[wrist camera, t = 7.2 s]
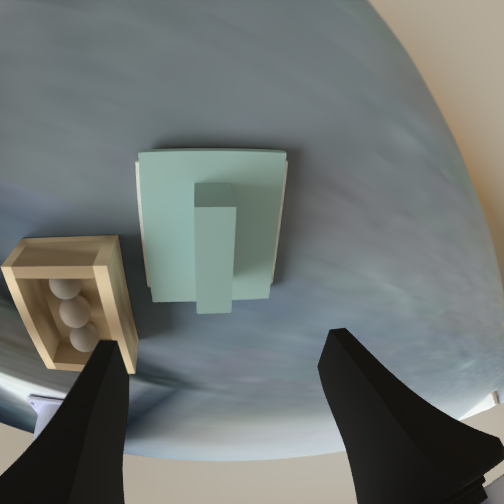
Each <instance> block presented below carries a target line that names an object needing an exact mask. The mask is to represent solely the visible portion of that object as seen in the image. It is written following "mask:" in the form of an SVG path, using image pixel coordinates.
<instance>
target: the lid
mask: <svg viewBox="0 0 504 504" xmlns="http://www.w3.org/2000/svg"><path fill="white" fill-rule="evenodd" d="M286 154H287V153H286V152H285V151H284V150H268V149H239V148H175V149H146V150H140V151H139V152H138V158H139V178H140V193H141V206H142V218H143V229H144V239H145V248H146V256H147V265H148V272H149V280H150V287H151V294H152V300H153V302H188V301H196V302H197V314H209V313H231V307H232V300H244V299H265V298H269V292H270V284H271V277H272V269H273V261H274V254H275V246H276V238H277V230H278V222H279V214H280V206H281V198H282V189H283V181H284V172H285V163H286Z"/></svg>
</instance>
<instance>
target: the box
mask: <svg viewBox="0 0 504 504" xmlns="http://www.w3.org/2000/svg"><path fill="white" fill-rule="evenodd" d="M1 269H2V271H3V274H4V277H5V279H6V282H7V285H8V287H9V290H10V292H11V295H12V297H13V299H14V302H15V304H16V306H17V309H18V311H19V313H20V315H21V318H22V320H23V322H24V324H25V326H26V328H27V330H28V332H29V334H30V336H31V338H32V340H33V342H34V344H35V346H36V348H37V350H38V352H39V354H40V356H41V357H42V359H43V361H44V363H45V365H46V366H47V368H48V369H59V370H70V371H82V370H83V368H84V366H85V364H86V363H87V361H88V359H89V357H90V356H91V354H92V352H93V350H94V348H95V347H96V345H97V343H98V342H99V341H100V340H117V341H118V345H119V348H120V351H121V354H122V357H123V360H124V363H125V366H126V369H127V372H128V374H135V370H136V361H137V352H138V343H139V339H138V335H137V330H136V326H135V322H134V317H133V313H132V308H131V303H130V298H129V294H128V288H127V283H126V278H125V272H124V267H123V261H122V255H121V248H120V242H119V235H100V236H73V237H48V238H26V239H21V241H20V242H19V243H18V244H17V246H16V247H15V248H14V250H13V251H12V252H11V254H10V255H9V256H8V258H7V259H6V260H5V262H4V263H3V264H2V266H1Z"/></svg>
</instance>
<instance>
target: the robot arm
mask: <svg viewBox="0 0 504 504" xmlns="http://www.w3.org/2000/svg"><path fill="white" fill-rule="evenodd" d="M318 371H319V375H320V379H321V383H322V387H323V391H324V393H325V396H326V398H327V401H328V404H329V406H330V409H331V411H332V414H333V416H334V419H335V421H336V424H337V426H338V429H339V431H340V434H341V436H342V439H343V442H344V445H345V448H346V451H347V455H348V459H349V463H350V467H351V472H352V476H353V481H354V486H355V491H356V497H357V503H358V504H504V474H503V475H502V476H500V477H499V478H497V479H496V480H494V481H493V482H492V483H490V484H489V485H487V486H486V487H484V488H483V486H482V484H483V483H484V482H485V481H486V480H485V478H484V476H483V475H484V474H485V473H487V472H488V471H490V470H491V469H492V468H494V467H495V466H496V465H498V464H499V463H500V462H502V461H503V460H504V446H503V444H502V443H501V441H500V439H499V438H498V437H495V436H493V435H489V434H487V433H484V432H482V431H479V430H477V429H474V428H472V427H470V426H468V425H466V424H464V423H462V422H460V421H458V420H456V419H454V418H452V417H450V416H449V415H447V414H445V413H444V412H442V411H440V410H439V409H437V408H436V407H434V406H433V405H431V404H430V403H428V402H427V401H425V400H424V399H423V398H421V397H420V396H418V395H417V394H416V393H414V392H413V391H412V390H411V389H409V388H408V387H407V386H406V385H405V384H403V383H402V382H401V381H400V380H399V379H398V378H396V377H395V376H394V375H393V374H392V373H391V372H390V371H389V370H388V369H387V368H385V367H384V366H383V365H382V364H381V363H380V362H379V361H378V360H377V359H376V358H375V357H374V356H373V355H372V354H371V353H370V352H369V351H368V350H367V349H366V348H365V347H364V346H363V345H362V344H361V343H360V342H359V341H358V340H357V339H356V338H355V337H354V336H353V335H352V334H351V333H350V332H349V331H348V330H347V329H346V328H340V329H331V330H329V333H328V337H327V340H326V343H325V345H324V348H323V351H322V354H321V357H320V360H319V363H318ZM27 401H28V402H29V403H30V405H31V406H32V407H33V408H34V410H35V411H36V412H37V413H38V419H37V423H36V428H35V432H34V437H33V442H32V444H31V445H30V446H29V447H28V448H27V450H26V451H25V452H24V453H23V454H22V455H21V456H20V457H19V458H18V459H17V460H16V461H15V462H14V463H13V464H12V465H11V466H10V467H9V468H8V469H7V470H6V471H5V472H4V473H3V474H2V475H1V476H0V504H125V503H124V491H123V472H122V467H123V450H124V441H125V431H126V423H127V414H128V406H129V375H128V372H127V369H126V366H125V363H124V360H123V357H122V354H121V351H120V348H119V345H118V341H117V340H100V341H99V342H98V343H97V345H96V347H95V348H94V350H93V352H92V354H91V356H90V357H89V359H88V361H87V363H86V364H85V366H84V368H83V370H82V371H81V373H80V375H79V376H78V378H77V380H76V381H75V383H74V384H73V386H72V388H71V389H70V391H69V393H68V394H67V396H66V397H65V399H64V400H55V399H48V398H41V397H34V396H27Z"/></svg>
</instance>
